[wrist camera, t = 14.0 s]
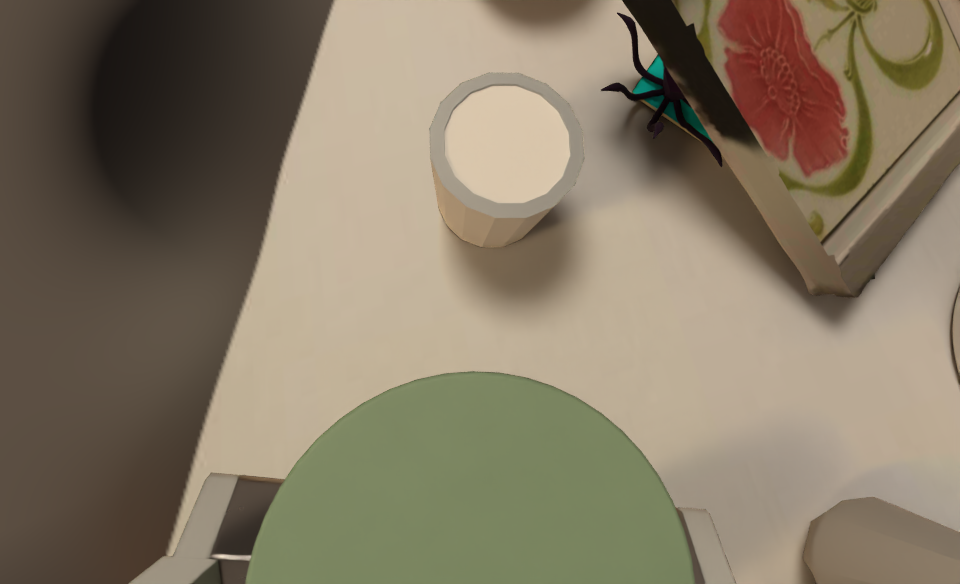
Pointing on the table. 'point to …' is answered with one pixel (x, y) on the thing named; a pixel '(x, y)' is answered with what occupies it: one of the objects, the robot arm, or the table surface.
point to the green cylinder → (472, 494)
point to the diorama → (663, 97)
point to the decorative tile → (822, 115)
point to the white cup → (502, 156)
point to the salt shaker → (880, 546)
